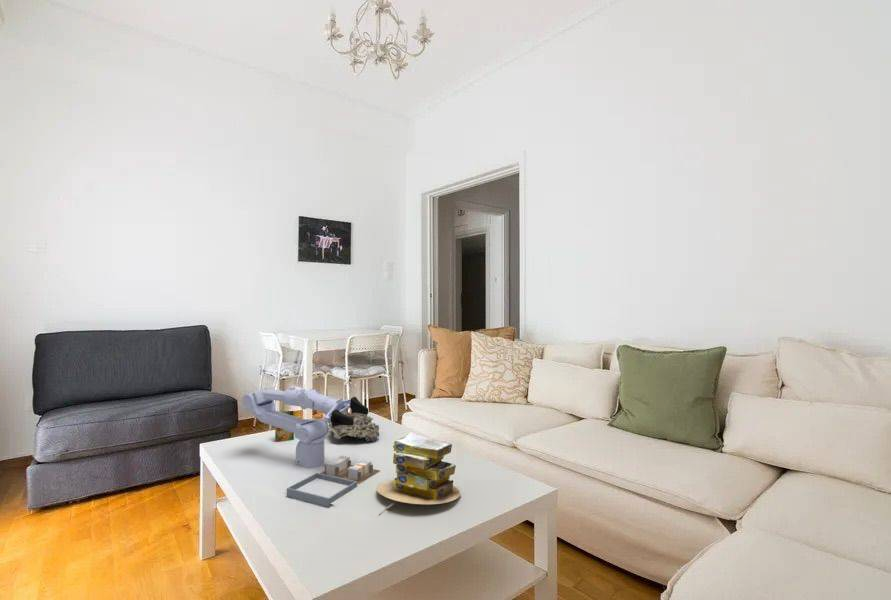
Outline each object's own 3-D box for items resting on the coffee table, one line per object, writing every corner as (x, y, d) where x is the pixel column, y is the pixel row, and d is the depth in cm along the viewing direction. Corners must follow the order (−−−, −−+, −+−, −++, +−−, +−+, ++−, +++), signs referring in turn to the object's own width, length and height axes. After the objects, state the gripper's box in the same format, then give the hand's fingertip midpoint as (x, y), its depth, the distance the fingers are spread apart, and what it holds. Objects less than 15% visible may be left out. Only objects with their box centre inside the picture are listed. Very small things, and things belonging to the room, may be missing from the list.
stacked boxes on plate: (414, 472, 152) (414, 423, 151) (476, 492, 137) (475, 437, 136) (359, 499, 132) (358, 442, 132) (423, 525, 117) (422, 461, 117)
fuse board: (316, 477, 147) (316, 466, 147) (340, 465, 158) (340, 455, 158) (358, 487, 140) (358, 475, 140) (380, 473, 151) (380, 462, 151)
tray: (286, 496, 134) (286, 488, 134) (316, 480, 145) (316, 472, 145) (328, 507, 127) (328, 498, 127) (357, 489, 138) (357, 481, 138)
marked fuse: (348, 478, 144) (348, 468, 144) (363, 469, 151) (363, 459, 151) (356, 480, 143) (356, 469, 143) (371, 471, 150) (371, 461, 150)
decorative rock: (324, 446, 176) (325, 419, 177) (328, 434, 201) (328, 411, 202) (380, 442, 180) (380, 417, 181) (377, 431, 206) (377, 409, 207)
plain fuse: (326, 473, 148) (326, 463, 148) (341, 465, 155) (341, 455, 155) (334, 475, 147) (334, 465, 147) (349, 467, 154) (349, 457, 154)
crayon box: (275, 442, 183) (274, 413, 183) (275, 439, 186) (274, 411, 186) (294, 439, 186) (294, 411, 186) (293, 437, 188) (293, 410, 188)
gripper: (312, 404, 146) (345, 416, 140) (342, 386, 159) (373, 396, 153) (314, 423, 148) (346, 435, 142) (342, 404, 161) (373, 414, 155)
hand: (360, 416), depth 148 cm, fingers open, 7 cm apart
